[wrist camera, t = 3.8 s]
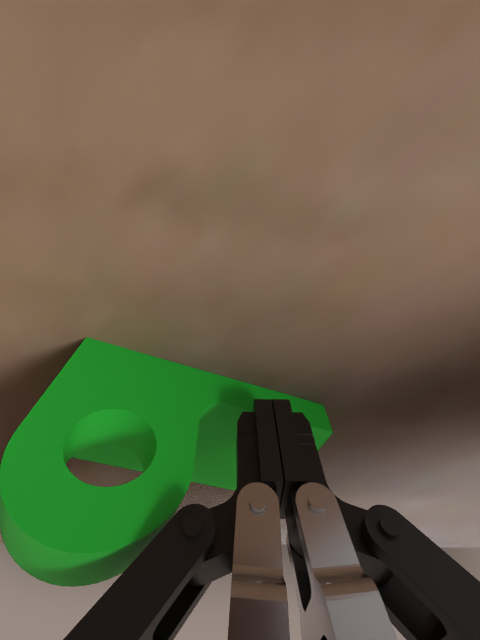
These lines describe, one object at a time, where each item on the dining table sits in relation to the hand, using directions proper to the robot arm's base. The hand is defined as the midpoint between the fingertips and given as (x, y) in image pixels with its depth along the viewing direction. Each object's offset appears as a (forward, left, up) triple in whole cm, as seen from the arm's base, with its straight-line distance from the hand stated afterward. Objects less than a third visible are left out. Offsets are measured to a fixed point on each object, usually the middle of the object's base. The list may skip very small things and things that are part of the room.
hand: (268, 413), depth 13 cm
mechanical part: (+3, +3, -3) cm, 5 cm away
